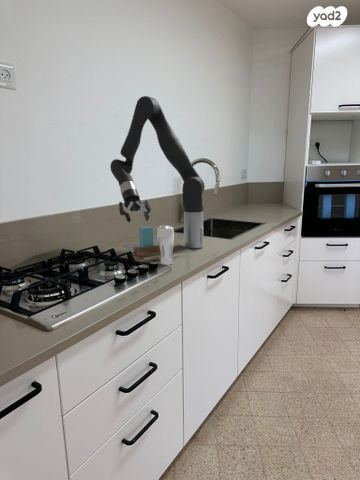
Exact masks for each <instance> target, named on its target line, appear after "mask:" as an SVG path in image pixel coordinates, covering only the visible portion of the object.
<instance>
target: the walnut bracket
mask: <svg viewBox="0 0 360 480" xmlns="http://www.w3.org/2000/svg"><path fill="white" fill-rule="evenodd" d="M127 252H128V251H127ZM127 252H126V251H125V252H124V254H126V253H127ZM131 252H132V254H133V256H134V259H135V260H136V261H142V262H148V263H153V262H155V263H156V262H159V248H158V245H155V244H154V243H153V246H151V247H142V248H139V247H137V246H133V250H132V251H131Z"/></svg>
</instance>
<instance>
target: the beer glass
mask: <svg viewBox="0 0 360 480" xmlns="http://www.w3.org/2000/svg"><path fill="white" fill-rule="evenodd" d="M156 229H157V230H156V242H157V243H156V244H157V246H158V248H159V261H158V264H159V265H160V264H162V265H161V266H170V265H173V264H174V257H173V251H174V245H175V230H174V229H175V228H174V226H173V225H159V226H157V228H156Z"/></svg>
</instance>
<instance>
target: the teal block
mask: <svg viewBox="0 0 360 480" xmlns="http://www.w3.org/2000/svg"><path fill="white" fill-rule="evenodd" d="M138 231H139V232H138V233H139V244H140V248H142V247H151V246H153V244H154V228H153V226H150V225H144V226H138Z"/></svg>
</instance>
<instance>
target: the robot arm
mask: <svg viewBox="0 0 360 480" xmlns="http://www.w3.org/2000/svg"><path fill="white" fill-rule="evenodd" d="M147 121H149V122H150V124H151V126H152V127H153V129H154V131H155V134H156V138H157V141H158V145H159V148H160V150H161V152H163V154H164V156H165V158H166V159H167V160H168V163H170V164H171V166H172V167H173V168H174V169H175V170H176V171H177V172H178V173H179V175H180V177H181V179H182V181H183V183H182V187H181V188H182V191H181V193H182V206H183V247H184V248H187V249H201V248H202V249H203V247H204V205H203V193H204V191H205V187H206V186H205V183H204V180H203V179H202V178H201V177H200V175H199V173H198V172H197V171H196V169H195V168H194V166H193V165H192V162H191V160H190V159H189V156H188V154H187V153H186V151H185V149H184V147H183V145H182V143H181V141H180V139H179V138H178V137H177V134H176V133H175V131H174V129H173V128H172V127H171V125H170V123H169V121H168V120H167V118H166V116H165V113H164V111H163V109H162V107H161V105H160V102H159V101H158V100H157V99H156V98H154V97H151V96H148V95H145V96H144V95H143V96H141V97H140V98H138V100H137V101H136V104H135V107H134V112H133V116H132V119H131V123H130V127H129V129H128V132H127V135H126V136H125V137H126V138H125V140H124V143H123V145H122V146H121V149H120V155H121V156H122V157H123V158H125V160H121V159H119V158H118V159H116V158H115V159H113V160H112V161H111V162H110V171H111V174H112V175H113V176H114V179H116V181H117V182H118V185H119V189H120V194H121V196H122V199H123V202H122V201H119V202H118V210H119V215H120V216H124V217H125V221H127V222H128V223H131V220H132V219H131V216H130V212H140V213H142V214H143V216H144V220H145V221H146V222H147V221H149V219H150V213H151V211H152V209H151V205H150V204H149V202H148V200H147V199H145V200H144V201H141V199H140V195H139V192H138V189H137V187H136V184H135V182H134V179H133V176H132V175H131V173H132V171H133V166H134V160H135V156H136V153H137V151H138V149H139V147H140V145H141V144H140V143H141V139H142V133H143V129H144V126H145V124H146V122H147ZM124 207H125V208H126V210H124Z"/></svg>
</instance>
